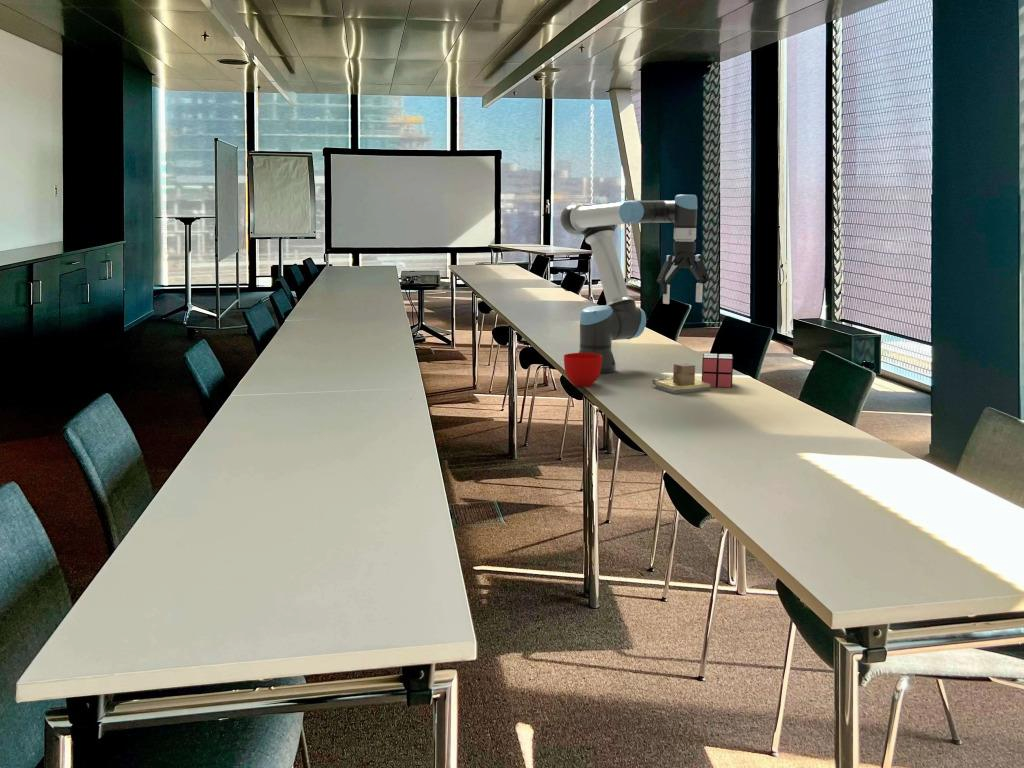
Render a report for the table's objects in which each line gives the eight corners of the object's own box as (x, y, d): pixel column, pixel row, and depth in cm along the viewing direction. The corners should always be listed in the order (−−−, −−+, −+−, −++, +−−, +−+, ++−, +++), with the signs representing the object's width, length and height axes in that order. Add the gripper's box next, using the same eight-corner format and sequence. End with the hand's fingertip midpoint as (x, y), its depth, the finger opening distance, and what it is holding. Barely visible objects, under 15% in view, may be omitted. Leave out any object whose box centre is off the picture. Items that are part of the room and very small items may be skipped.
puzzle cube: (732, 388, 320) (733, 358, 318) (701, 387, 322) (702, 357, 320) (731, 383, 330) (733, 354, 328) (702, 381, 332) (703, 353, 330)
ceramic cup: (608, 380, 333) (609, 352, 331) (596, 389, 317) (597, 359, 315) (572, 378, 337) (572, 350, 335) (558, 387, 321) (559, 357, 319)
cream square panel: (686, 381, 327) (686, 375, 327) (709, 387, 316) (710, 382, 315) (651, 384, 322) (651, 378, 321) (674, 391, 310) (674, 385, 310)
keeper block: (673, 381, 318) (673, 364, 317) (685, 380, 320) (686, 363, 319) (681, 384, 314) (682, 366, 312) (694, 383, 316) (695, 365, 314)
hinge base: (686, 383, 328) (686, 375, 327) (709, 390, 316) (710, 382, 315) (651, 386, 322) (651, 378, 321) (674, 393, 310) (674, 385, 310)
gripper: (660, 241, 319) (658, 305, 323) (721, 240, 329) (718, 302, 333) (647, 240, 325) (645, 303, 329) (708, 239, 336) (705, 300, 340)
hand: (682, 303), depth 331 cm, fingers open, 13 cm apart
